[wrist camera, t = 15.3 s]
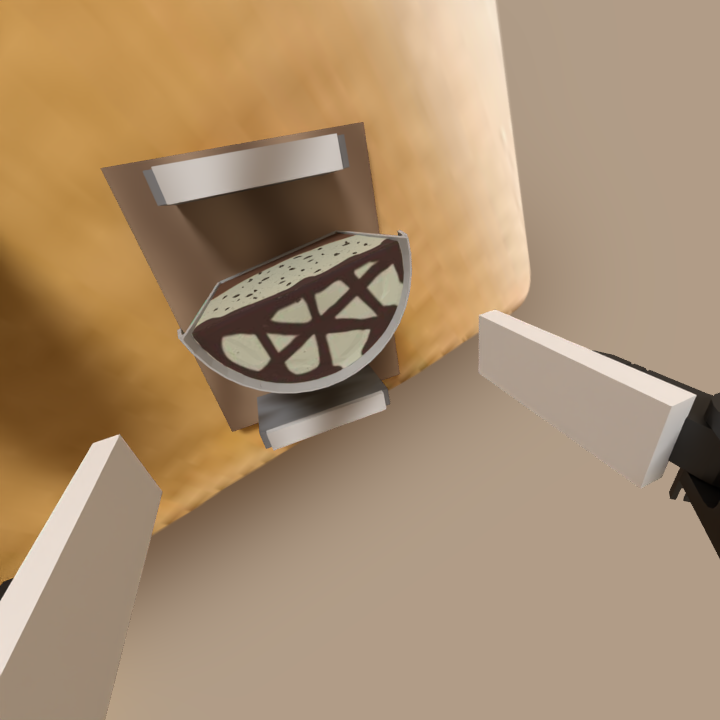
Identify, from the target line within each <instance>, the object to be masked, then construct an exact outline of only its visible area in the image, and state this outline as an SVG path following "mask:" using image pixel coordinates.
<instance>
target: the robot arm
mask: <svg viewBox="0 0 720 720" xmlns="http://www.w3.org/2000/svg"><path fill="white" fill-rule="evenodd" d="M479 374H481V375H482V376H483V377H485V378H486V379H488V380H489V381H490V382H492V383H493V384H495V385H496V386H498V387H499V388H500V389H502V390H503V391H504V392H506V393H507V394H509V395H510V396H511V397H513V398H514V399H516V400H517V401H518V402H520V403H521V404H523V405H524V406H525V407H527V408H528V409H530V410H531V411H532V412H534V413H535V414H537V415H538V416H539V417H541V418H542V419H544V420H545V421H546V422H548V423H549V424H551V425H552V426H553V427H555V428H556V429H558V430H559V431H560V432H562V433H563V434H565V435H566V436H567V437H569V438H570V439H572V440H573V441H574V442H576V443H577V444H579V445H580V446H581V447H583V448H584V449H586V450H587V451H588V452H590V453H591V454H593V455H594V456H595V457H597V458H598V459H600V460H601V461H602V462H604V463H605V464H607V465H608V466H609V467H611V468H612V469H614V470H615V471H616V472H618V473H619V474H621V475H622V476H623V477H625V478H626V479H628V480H629V481H630V482H632V483H633V484H635V485H636V486H637V487H639V488H642V487H644V486H646V485H648V484H650V483H652V482H653V481H656V480H658V479H659V478H661V477H662V476H663V473H664V471H665V468H666V466H667V464H668V461H670V462H672V463H674V464H675V465H677V466H679V467H680V469H679V471H678V473H677V476H676V478H675V480H674V483H673V485H672V487H671V489H670V491H669V494H670V499H674V500H675V499H676V498H677V496H678V494H679V492H680V490H681V488H684V490H685V492H686V494H685V496H684V501H687V502H691V504H692V506H693V508H694V510H695V511H696V514H697V516H698V517H699V519H700V521H701V523H702V525H703V527H704V529H705V531H706V533H707V535H708V537H709V539H710V540H711V543H712V544H713V546H714V548H715V550H716V552H717V554H718V556H719V558H720V393H718V394H715V395H714V396H713V395H710V394H707V393H705V392H702V391H700V390H697V389H695V388H692V387H690V386H687V385H685V384H682V383H680V382H678V381H675V380H673V379H670V378H668V377H666V376H663V375H661V374H658V373H656V372H653V371H651V370H649V371H647V370H646V368H644V367H641V366H639V365H636V364H631V362H629V361H627V360H624V359H622V358H619V357H617V356H615V355H611V354H606V353H602V352H598V351H593V350H589V349H587V348H585V347H582V346H580V345H578V344H575V343H573V342H570V341H568V340H565V339H563V338H561V337H559V336H556V335H554V334H551V333H549V332H546V331H544V330H542V329H540V328H537V327H535V326H533V325H530V324H528V323H526V322H523V321H521V320H519V319H516V318H514V317H511V316H509V315H507V314H504V313H502V312H500V311H497V310H493V311H490V312H487V313H484V314H481V315H479ZM161 495H162V490H161V489H160V488H159V486H158V485H157V484H156V482H155V481H154V480H153V478H152V477H151V476H150V474H149V473H148V472H147V470H146V469H145V467H144V466H143V465H142V463H141V462H140V461H139V459H138V458H137V457H136V455H135V454H134V453H133V451H132V450H131V449H130V447H129V446H128V444H127V443H126V442H125V440H124V439H123V438H122V436H121V435H120V434H119V435H116V436H113V437H110V438H107V439H104V440H101V441H98V442H95V443H93V444H92V446H91V447H90V449H89V451H88V453H87V454H86V456H85V458H84V459H83V461H82V463H81V464H80V466H79V468H78V470H77V471H76V473H75V475H74V476H73V478H72V480H71V481H70V483H69V485H68V487H67V488H66V490H65V492H64V493H63V495H62V497H61V499H60V500H59V502H58V504H57V505H56V507H55V509H54V510H53V512H52V514H51V516H50V517H49V519H48V521H47V522H46V524H45V526H44V527H43V529H42V531H41V533H40V534H39V536H38V538H37V539H36V541H35V543H34V545H33V546H32V548H31V550H30V551H29V553H28V555H27V556H26V558H25V560H24V562H23V563H22V565H21V567H20V568H19V570H18V572H17V573H16V575H15V577H14V578H12V579H10V580H7V581H4V582H3V583H2V584H1V586H0V720H105V718H106V714H107V710H108V706H109V702H110V698H111V694H112V690H113V686H114V682H115V678H116V674H117V670H118V666H119V662H120V658H121V654H122V650H123V646H124V642H125V638H126V634H127V630H128V627H129V623H130V619H131V615H132V611H133V606H134V602H135V599H136V595H137V590H138V587H139V583H140V579H141V575H142V571H143V567H144V563H145V559H146V555H147V551H148V547H149V542H150V539H151V535H152V531H153V527H154V523H155V519H156V515H157V511H158V507H159V503H160V499H161Z"/></svg>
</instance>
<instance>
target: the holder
mask: <svg viewBox="0 0 720 720" xmlns="http://www.w3.org/2000/svg"><path fill="white" fill-rule="evenodd" d="M101 170H102V172H103V174H104V176H105V178H106V180H107V182H108V184H109V186H110V188H111V190H112V192H113V194H114V196H115V198H116V200H117V202H118V204H119V206H120V208H121V210H122V212H123V214H124V216H125V218H126V220H127V222H128V224H129V226H130V228H131V230H132V232H133V234H134V236H135V238H136V240H137V242H138V244H139V246H140V248H141V250H142V252H143V254H144V256H145V258H146V260H147V262H148V264H149V266H150V268H151V270H152V272H153V274H154V276H155V278H156V280H157V282H158V284H159V286H160V288H161V290H162V292H163V294H164V296H165V298H166V300H167V302H168V304H169V306H170V308H171V310H172V312H173V314H174V316H175V318H176V320H177V322H178V324H179V326H180V328H181V329H182V331H183V332H184V333H185V332H186V331H187V329H188V327H189V326H190V324H191V323H192V321H193V320H194V318H195V317H196V315H197V313H198V312H199V310H200V309H201V307H202V306H203V304H204V303H205V301H206V299H207V298H208V296H209V295H210V293H211V292H212V290H213V289H214V287H215V285H216V284H217V282H220V281H222V280H224V279H226V278H229V277H231V276H233V275H236V274H238V273H240V272H242V271H245V270H247V269H249V268H252V267H254V266H256V265H258V264H261V263H263V262H265V261H267V260H270V259H272V258H274V257H277V256H279V255H281V254H283V253H286V252H288V251H290V250H293V249H295V248H297V247H299V246H302V245H304V244H306V243H308V242H311V241H313V240H315V239H318V238H320V237H322V236H324V235H327V234H329V233H331V232H334V231H336V230H343V231H353V232H364V233H374V234H380V233H379V227H378V220H377V213H376V206H375V199H374V192H373V185H372V178H371V171H370V164H369V157H368V150H367V143H366V136H365V130H364V123H363V122H361V123H355V124H349V125H344V126H338V127H332V128H327V129H321V130H315V131H310V132H304V133H298V134H293V135H287V136H281V137H275V138H270V139H264V140H258V141H253V142H247V143H241V144H236V145H230V146H224V147H219V148H213V149H207V150H202V151H196V152H190V153H185V154H179V155H173V156H168V157H162V158H156V159H151V160H145V161H139V162H134V163H128V164H122V165H117V166H111V167H105V168H101ZM195 358H196V360H197V362H198V364H199V366H200V368H201V370H202V372H203V374H204V376H205V378H206V380H207V382H208V384H209V386H210V388H211V390H212V392H213V394H214V396H215V398H216V400H217V402H218V404H219V406H220V408H221V410H222V412H223V414H224V416H225V418H226V420H227V422H228V424H229V426H230V428H231V430H232V432H233V431H236V430H239V429H242V428H245V427H248V426H251V425H254V424H256V423H259V432H260V436H261V438H262V440H263V442H264V445H265V447H266V449H267V448H270V447H272V448H273V450H276V449H279V448H282V447H285V446H287V445H290V444H293V443H295V442H298V441H301V440H304V439H306V438H309V437H312V436H315V435H317V434H320V433H323V432H326V431H328V430H331V429H334V428H336V427H339V426H342V425H345V424H348V423H350V422H353V421H356V420H359V419H361V418H364V417H367V416H369V415H372V414H375V413H378V412H381V411H383V410H386V405H389V404H390V400H389V395H388V389H387V387H386V386H385V385H384V384H383V382H382V381H381V380H384V379H387V378H390V377H393V376H396V375H399V374H400V372H399V365H398V358H397V351H396V344H395V337H394V334H393V336H392V337H391V339H390V340H389V341H388V343H387V344H386V345H385V347H384V348H383V349H382V351H381V352H380V353H379V354H378V355H377V356H376V357H375V358H374V359H373V360H372V361H371V362H370V363H369V364H367V365H366V366H365V367H363V368H362V369H361V370H360V371H358V372H357V373H355V374H353V375H352V376H350V377H348V378H347V379H345V380H343V381H341V382H338V383H336V384H334V385H331V386H329V387H325V388H322V389H318V390H314V391H309V392H301V393H272V392H265V391H259V390H256V389H252V388H249V387H245V386H242V385H240V384H238V383H235V382H233V381H231V380H228V379H226V378H224V377H223V376H221V375H220V374H218V373H216V372H215V371H213V370H212V369H210V368H209V367H207V366H206V365H205V364H204V363H203V362H201V361H200V360H199V359H198V358H197V357H196V356H195Z"/></svg>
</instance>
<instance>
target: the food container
mask: <svg viewBox="0 0 720 720" xmlns="http://www.w3.org/2000/svg"><path fill="white" fill-rule="evenodd" d="M397 232H398V236H395V235H385V234H374V233H364V232H353V231H343V230H336V231H334V232H331V233H329V234H327V235H324V236H322V237H320V238H318V239H315V240H313V241H311V242H308V243H306V244H304V245H302V246H299V247H297V248H295V249H293V250H290V251H288V252H286V253H283V254H281V255H279V256H277V257H274V258H272V259H270V260H267V261H265V262H263V263H261V264H258V265H256V266H254V267H252V268H249V269H247V270H245V271H242V272H240V273H238V274H236V275H233V276H231V277H229V278H226V279H224V280H222V281H220V282H217V284H216V285H215V287H214V289H213V290H212V292H211V293H210V295H209V296H208V298H207V299H206V301H205V303H204V304H203V306H202V307H201V309H200V310H199V312H198V313H197V315H196V317H195V318H194V320H193V321H192V323H191V324H190V326H189V327H188V329H187V331H186V332H185V333H184V332H183V331H182V329H179V330H178V338H179V339H180V341H181V342H182V343H183V344H184V345H185V346H186V347H187V349H188V350H189V351H190V352H191V353H192V354H193V355H194V356H196V357H197V358H198V359H199V360H200V361H201V362H203V363H204V364H205V365H206V366H207V367H209V368H210V369H212V370H213V371H215V372H216V373H218V374H220V375H221V376H223V377H224V378H226V379H228V380H231V381H233V382H235V383H238V384H240V385H242V386H245V387H249V388H252V389H256V390H259V391H265V392H272V393H301V392H309V391H314V390H318V389H322V388H325V387H329V386H331V385H334V384H336V383H338V382H341V381H343V380H345V379H347V378H348V377H350V376H352V375H353V374H355V373H357V372H358V371H360V370H361V369H362V368H363V367H365V366H366V365H367V364H369V363H370V362H371V361H372V360H373V359H374V358H375V357H376V356H377V355H378V354H379V353H380V352H381V351H382V349H383V348H384V347H385V345H386V344H387V343H388V341H389V340H390V339H391V337H392V336H393V334H394V332H395V330H396V329H397V327H398V325H399V323H400V321H401V318H402V316H403V313H404V311H405V308H406V305H407V301H408V297H409V292H410V285H411V276H412V265H411V251H410V245H409V239H408V237H407V234H406V233H404V232H403V231H401V230H399V231H397Z"/></svg>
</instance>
